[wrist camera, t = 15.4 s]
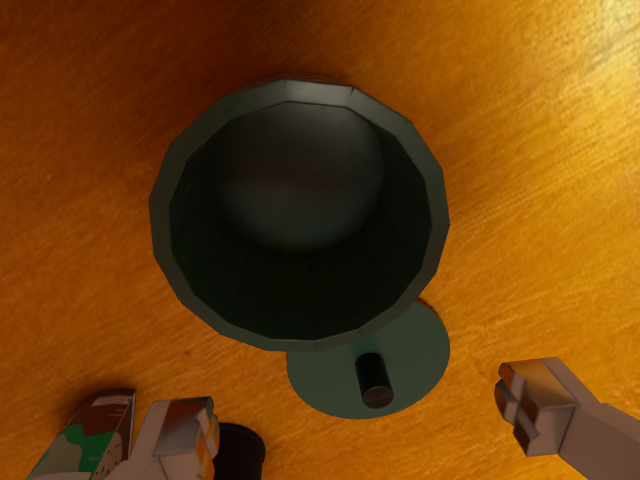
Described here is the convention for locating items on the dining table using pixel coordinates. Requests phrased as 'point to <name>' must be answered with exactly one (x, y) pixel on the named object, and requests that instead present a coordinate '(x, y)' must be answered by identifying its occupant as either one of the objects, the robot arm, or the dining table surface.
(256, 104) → the tin
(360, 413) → the lid
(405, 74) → the dining table surface
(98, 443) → the food container
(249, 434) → the aerosol can
